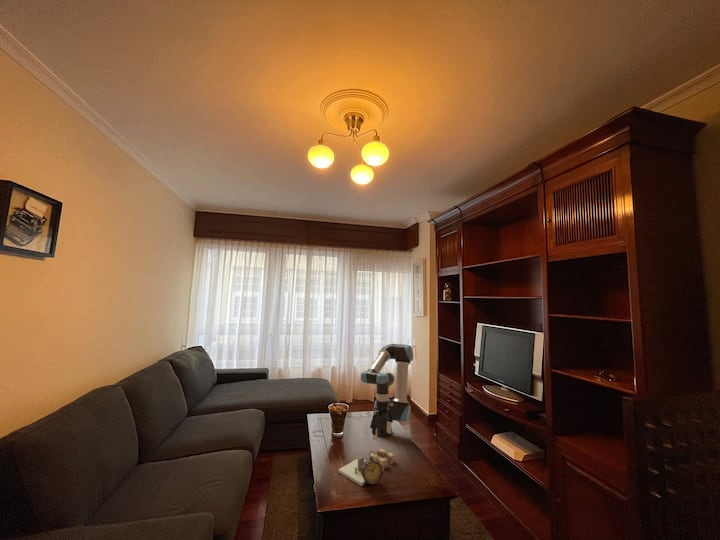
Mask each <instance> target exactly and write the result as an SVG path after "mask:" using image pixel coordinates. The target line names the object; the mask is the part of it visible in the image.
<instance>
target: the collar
mask: <svg viewBox="0 0 720 540" xmlns="http://www.w3.org/2000/svg"><path fill="white" fill-rule="evenodd" d="M374 453H375V455H374ZM369 456H370V457H371V456H372V457H373V456H374V457H373V458H374V459H376V460H377V461H378V462H379V463H380V465H381V466H382V469H383V470H384V469H387V468H388V467H389V465H393V464H394V463H395V462H396V454H394V453H392V452H390V451H387V450H386V449H383V448H379V449H377V450H376V452H375V451H373V452H371V453H370V454H369ZM370 457H369V458H370Z"/></svg>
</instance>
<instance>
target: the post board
mask: <svg viewBox="0 0 720 540" xmlns="http://www.w3.org/2000/svg"><path fill="white" fill-rule="evenodd" d="M366 460H367V459H365V457H364V456H361V455H360V456H358V457H357V458H356V459H354V460H353V461H351V462H349V463H348V464H346V465H344V466H342V467H340V468H338V471H337V472H338V474H341V475H342V476H344V477H345V478H347V479H348V480H350V481H352V482H354V483H355V484H357V485H359V486H360V487H363V486H364V484H365V480H364V479H363V476H362V473H361V468H362V465H363V463H364V462H365V461H366ZM382 470H383V471H384V469H382ZM365 485H366V484H365Z"/></svg>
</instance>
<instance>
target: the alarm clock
mask: <svg viewBox="0 0 720 540" xmlns="http://www.w3.org/2000/svg"><path fill="white" fill-rule="evenodd" d="M371 453H374V451H373V450H371V451H370V452H368V457H369V458H368V459H365V460H366V461H365V462H364V463H363V465H362V468H361V473H362V476H363V479H364V480H365V484H364V485H363V486H366V484H368V485H375V484H377V483H379V484H381V482H380V481H381V479H382V476H383V473H384V469H383V470H382V466H381V465H380V463H379V462H378V461H377V460H376V459H374V458H373V457H374V456H373V457H372V456H371V457H370V454H371ZM375 453H376V452H375ZM375 453H374V455H375Z"/></svg>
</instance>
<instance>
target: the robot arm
mask: <svg viewBox="0 0 720 540" xmlns="http://www.w3.org/2000/svg"><path fill="white" fill-rule="evenodd" d="M377 354H378V355H377V357H376V358H375V360H374V361H373V362H372V363H371V365H370V367H368V370H365V371H364V370H363V371H361V373H360V382H361V383H364V384H369V385H376V400H375V401H374V407H373V415H372V419H371V422H370V426H369V428H370V429H371V433H372V440H373V441H375V442H377V441H378V437H379V438H380V437H381V438H386V437H389V436H390V437H391V436H392V434H393V429H392V423H393V422H394V421H396V422H400V423H407V422H408V421H409V419H410V416H411V411H412V410H411V409H412V408H411V405H410V404H409V401H408V399H407V398H408V377H409V365H410V364H411V362H412V361H413V360H414V350H413V348H412V346H411V345H409V344H400V343H399V344H398V343H390V344H386V345H384V346H383V347H382V348H380V350H379V351H378V353H377ZM390 360H394V361H395V364H396V373H395V374H396V376H395V374H393V373H391V372H386V373H385V372H383V373H381V371H382V370H383V368H384V366H385V365H386V362H388V361H390ZM394 382H395V392H394V398H393V399H392V401H391V400H390V397H389V389H390V387H391V386H392V385H393V384H394Z"/></svg>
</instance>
